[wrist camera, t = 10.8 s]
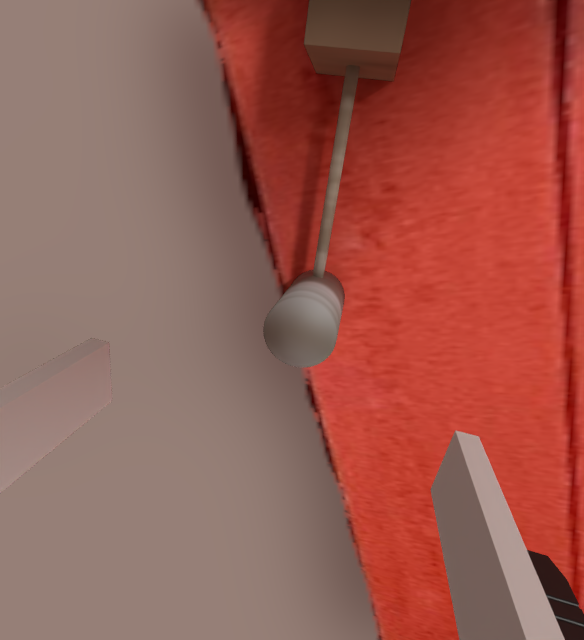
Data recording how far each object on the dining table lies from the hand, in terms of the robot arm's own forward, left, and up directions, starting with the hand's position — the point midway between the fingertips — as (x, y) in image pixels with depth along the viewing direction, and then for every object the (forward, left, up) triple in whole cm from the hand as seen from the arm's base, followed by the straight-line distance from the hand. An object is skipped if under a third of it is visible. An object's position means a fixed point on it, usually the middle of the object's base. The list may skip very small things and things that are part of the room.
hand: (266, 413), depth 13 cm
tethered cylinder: (-9, 0, -16) cm, 19 cm away
